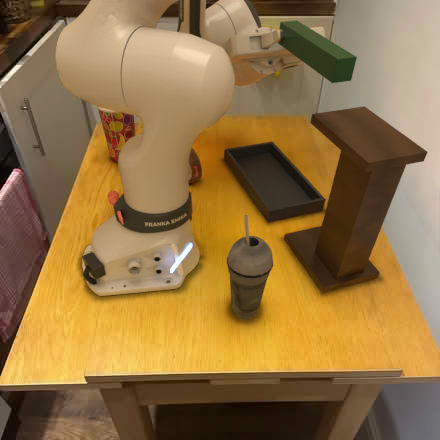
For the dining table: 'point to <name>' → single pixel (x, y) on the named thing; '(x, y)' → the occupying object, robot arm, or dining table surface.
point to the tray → (273, 181)
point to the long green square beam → (318, 52)
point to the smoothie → (116, 129)
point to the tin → (194, 167)
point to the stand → (354, 197)
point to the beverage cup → (248, 273)
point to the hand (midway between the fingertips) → (293, 32)
